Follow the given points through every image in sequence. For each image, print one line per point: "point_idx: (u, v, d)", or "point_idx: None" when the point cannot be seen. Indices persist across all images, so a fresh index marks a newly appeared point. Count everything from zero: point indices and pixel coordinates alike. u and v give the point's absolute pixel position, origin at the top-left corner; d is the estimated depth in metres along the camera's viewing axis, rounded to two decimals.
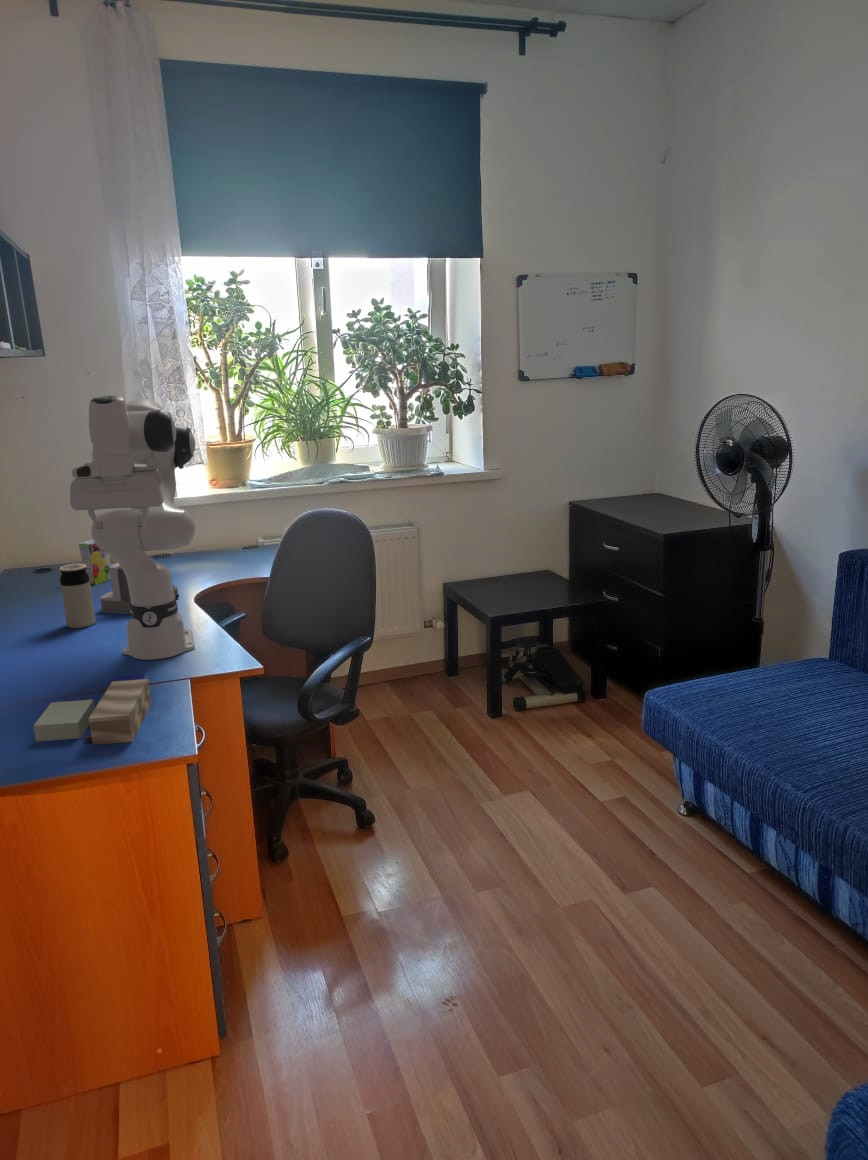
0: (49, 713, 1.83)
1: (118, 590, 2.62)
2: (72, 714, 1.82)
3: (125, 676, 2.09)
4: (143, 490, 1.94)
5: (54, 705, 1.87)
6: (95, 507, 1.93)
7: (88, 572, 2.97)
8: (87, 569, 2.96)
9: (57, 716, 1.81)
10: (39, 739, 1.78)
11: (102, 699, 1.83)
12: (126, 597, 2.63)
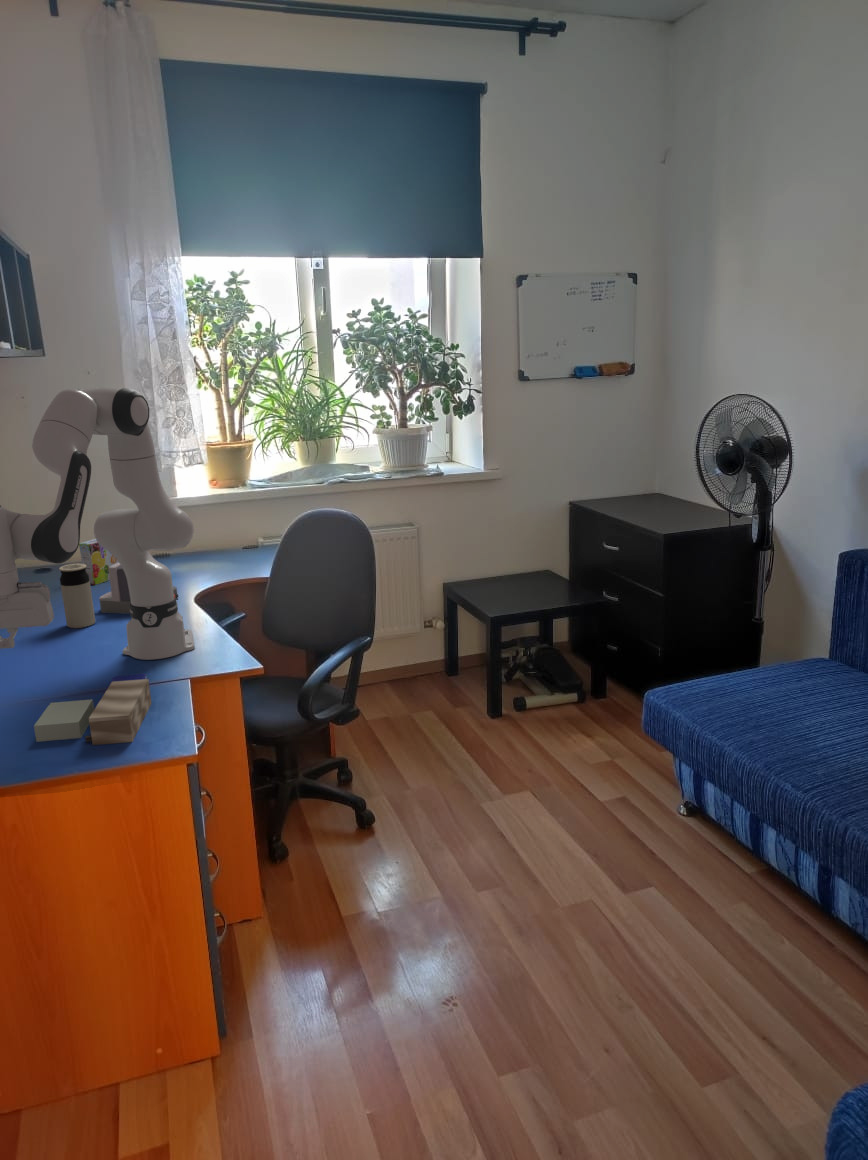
0: (49, 713, 1.83)
1: (117, 590, 2.62)
2: (72, 714, 1.82)
3: (125, 676, 2.09)
4: (29, 609, 1.75)
5: (53, 705, 1.86)
6: None
7: (88, 572, 2.97)
8: (87, 569, 2.96)
9: (57, 716, 1.81)
10: (39, 739, 1.78)
11: (102, 699, 1.83)
12: (125, 597, 2.63)
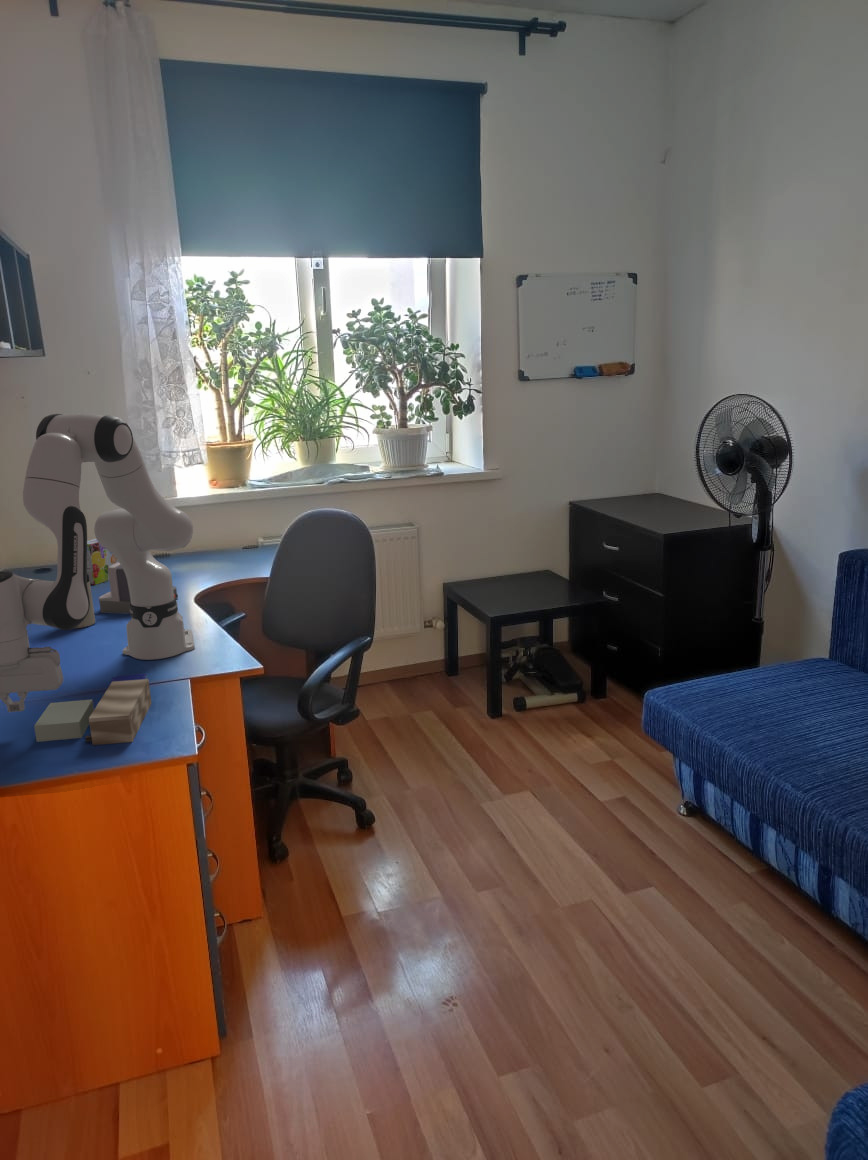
0: (49, 713, 1.83)
1: (117, 590, 2.62)
2: (72, 713, 1.82)
3: (125, 676, 2.09)
4: (39, 674, 1.78)
5: (53, 705, 1.86)
6: None
7: (88, 572, 2.97)
8: (87, 569, 2.96)
9: (58, 716, 1.81)
10: (40, 739, 1.78)
11: (102, 699, 1.83)
12: (125, 597, 2.63)
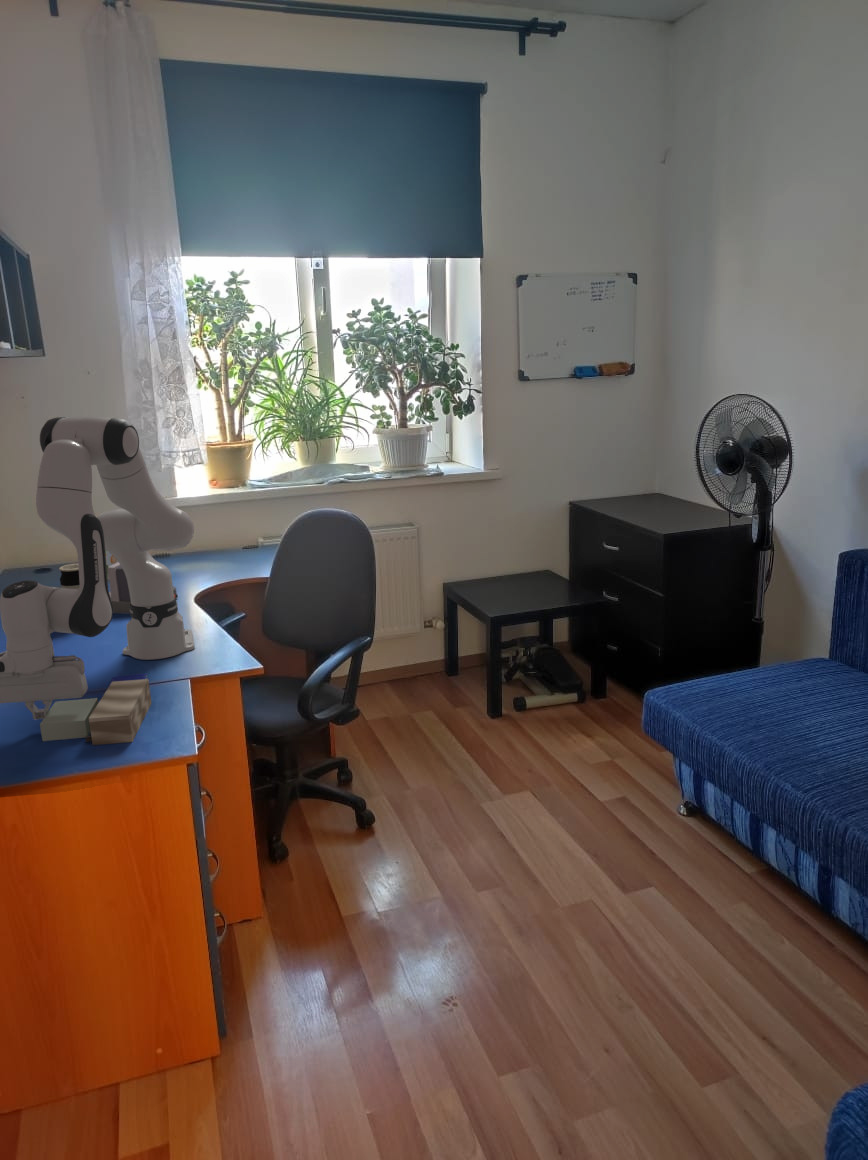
0: (54, 712, 1.83)
1: (116, 590, 2.62)
2: (78, 712, 1.82)
3: (126, 676, 2.09)
4: (64, 682, 1.80)
5: (58, 704, 1.87)
6: (12, 700, 1.79)
7: None
8: None
9: (63, 714, 1.81)
10: (45, 738, 1.78)
11: (102, 699, 1.83)
12: (124, 597, 2.63)
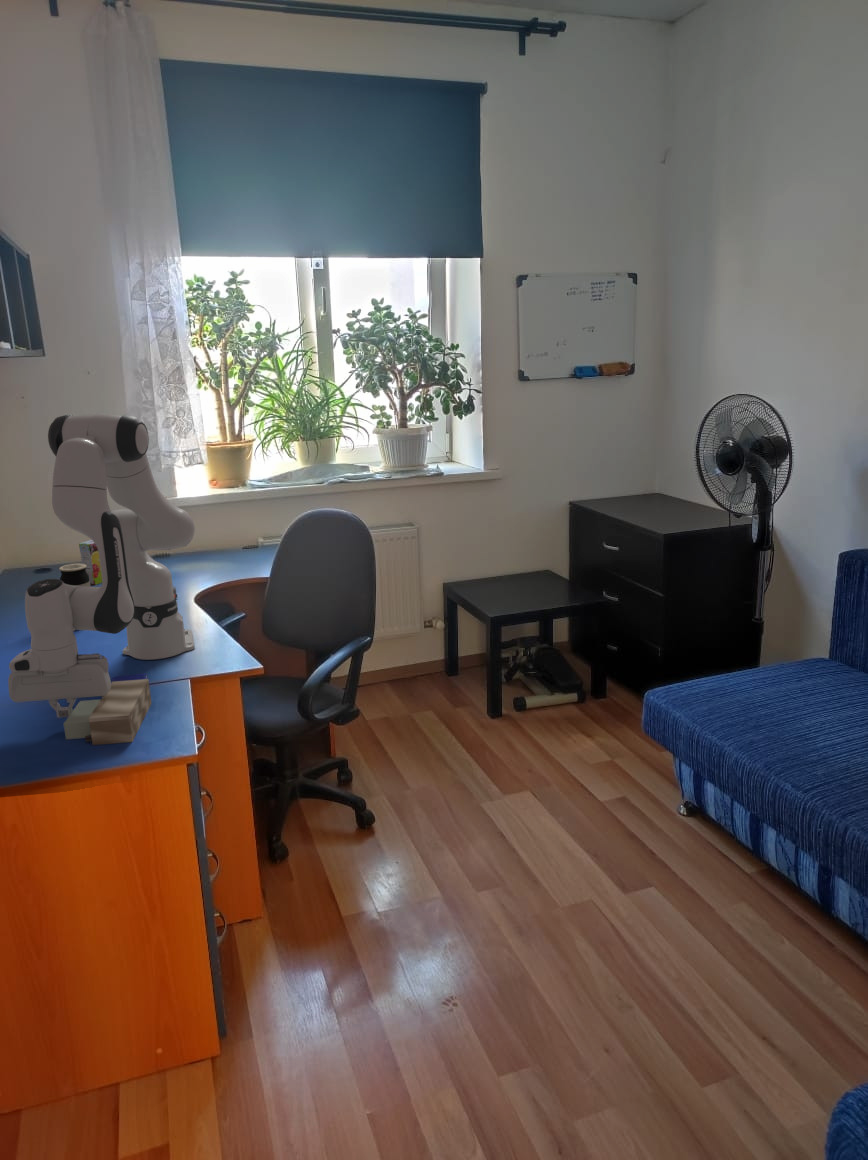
0: (78, 711, 1.83)
1: None
2: None
3: (126, 676, 2.09)
4: (88, 680, 1.80)
5: (82, 703, 1.87)
6: (36, 699, 1.80)
7: (88, 572, 2.97)
8: (87, 569, 2.96)
9: (87, 714, 1.82)
10: (69, 737, 1.78)
11: (102, 699, 1.83)
12: None
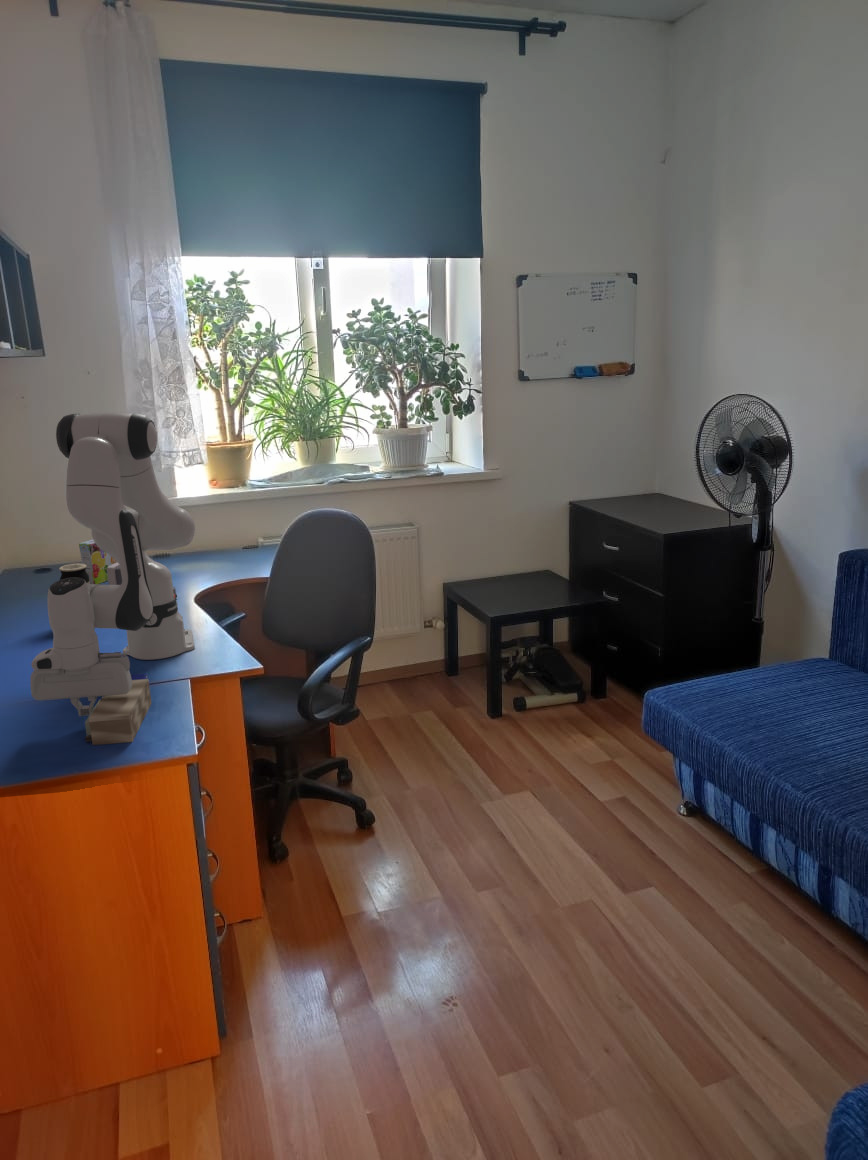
0: None
1: None
2: None
3: None
4: (109, 679, 1.80)
5: None
6: (58, 697, 1.80)
7: (88, 572, 2.97)
8: (87, 569, 2.96)
9: None
10: None
11: (102, 699, 1.83)
12: None
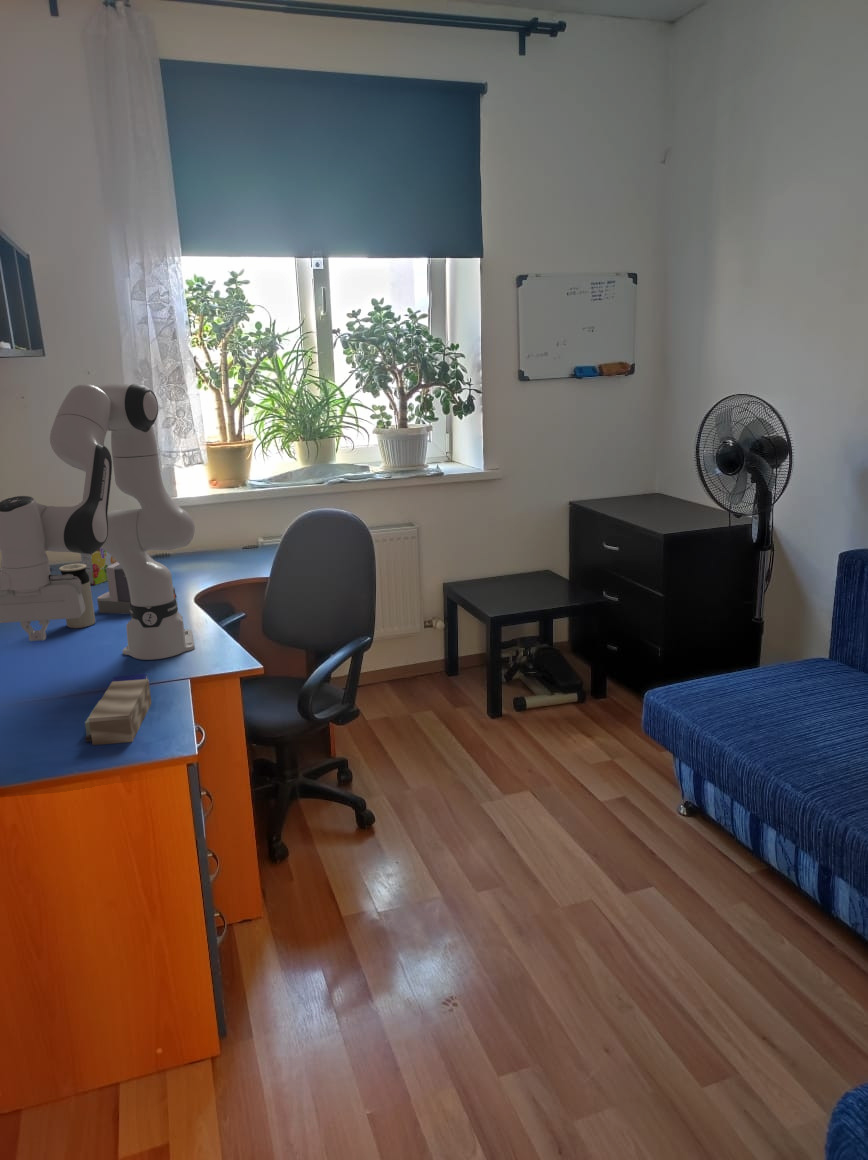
0: None
1: (115, 590, 2.62)
2: None
3: (126, 676, 2.09)
4: (61, 601, 1.75)
5: None
6: (8, 620, 1.75)
7: (88, 572, 2.97)
8: (87, 569, 2.96)
9: None
10: None
11: (102, 699, 1.83)
12: (123, 597, 2.63)
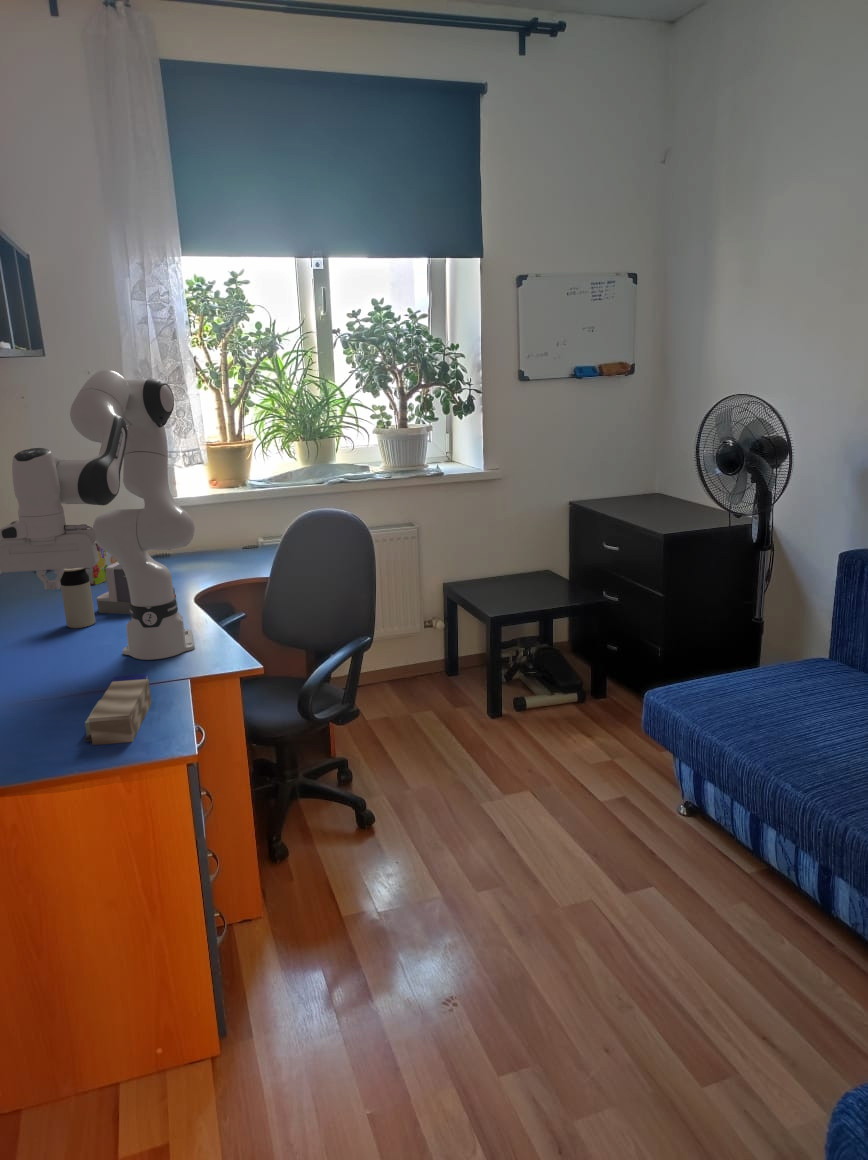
0: None
1: (114, 590, 2.62)
2: None
3: (126, 676, 2.09)
4: (75, 550, 1.80)
5: None
6: (24, 569, 1.80)
7: (88, 572, 2.97)
8: (87, 569, 2.96)
9: None
10: None
11: (102, 699, 1.83)
12: (122, 597, 2.63)
